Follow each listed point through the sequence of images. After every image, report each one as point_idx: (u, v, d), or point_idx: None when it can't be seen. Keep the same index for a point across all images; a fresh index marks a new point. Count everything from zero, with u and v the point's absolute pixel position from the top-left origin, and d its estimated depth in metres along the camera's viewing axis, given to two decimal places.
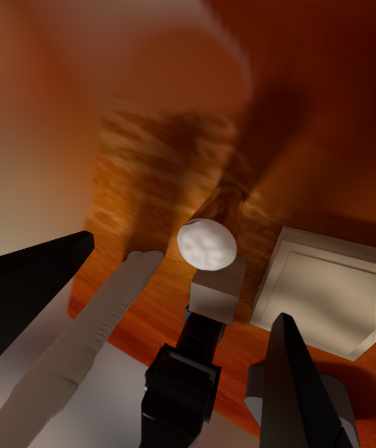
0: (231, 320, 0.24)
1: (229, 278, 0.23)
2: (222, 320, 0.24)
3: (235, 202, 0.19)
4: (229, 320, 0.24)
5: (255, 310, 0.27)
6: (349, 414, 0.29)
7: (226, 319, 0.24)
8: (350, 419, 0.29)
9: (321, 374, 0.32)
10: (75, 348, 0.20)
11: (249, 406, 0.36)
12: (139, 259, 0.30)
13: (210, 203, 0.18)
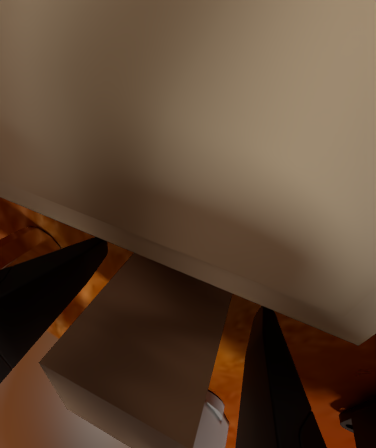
0: (156, 432, 0.06)
1: None
2: None
3: None
4: (162, 436, 0.06)
5: (259, 301, 0.07)
6: None
7: (163, 440, 0.06)
8: None
9: None
10: None
11: None
12: None
13: None
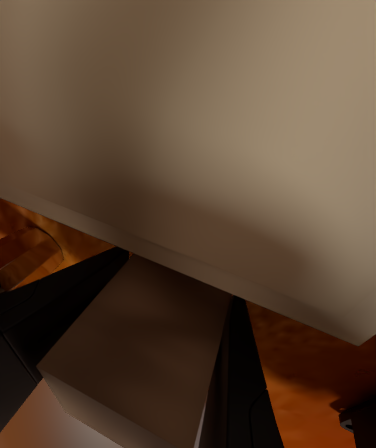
0: (155, 436, 0.06)
1: None
2: None
3: None
4: (161, 441, 0.06)
5: (258, 301, 0.07)
6: None
7: (162, 444, 0.06)
8: None
9: None
10: None
11: None
12: None
13: None
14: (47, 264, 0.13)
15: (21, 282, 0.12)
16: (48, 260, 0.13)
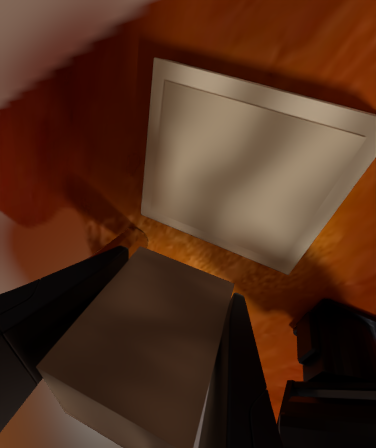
0: (155, 437, 0.06)
1: None
2: None
3: (110, 242, 0.24)
4: (160, 441, 0.06)
5: (254, 259, 0.19)
6: None
7: (161, 444, 0.06)
8: None
9: None
10: None
11: None
12: None
13: None
14: None
15: None
16: (143, 245, 0.25)
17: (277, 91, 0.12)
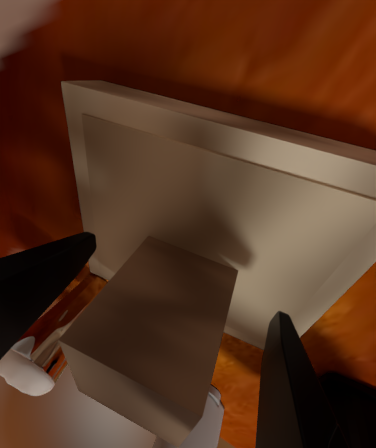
0: (169, 401, 0.06)
1: None
2: (185, 419, 0.07)
3: (62, 298, 0.19)
4: (173, 406, 0.07)
5: (234, 335, 0.14)
6: None
7: (174, 410, 0.07)
8: None
9: None
10: None
11: None
12: None
13: None
14: None
15: None
16: None
17: (243, 131, 0.08)
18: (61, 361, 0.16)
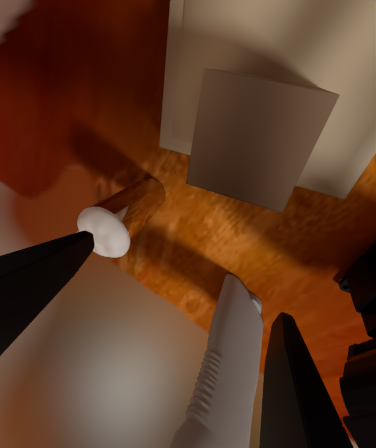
0: (308, 93, 0.08)
1: None
2: (315, 123, 0.08)
3: None
4: (310, 100, 0.08)
5: (300, 185, 0.15)
6: None
7: (308, 110, 0.08)
8: None
9: None
10: None
11: None
12: None
13: None
14: (160, 199, 0.22)
15: (154, 203, 0.21)
16: (161, 196, 0.22)
17: None
18: (135, 226, 0.17)
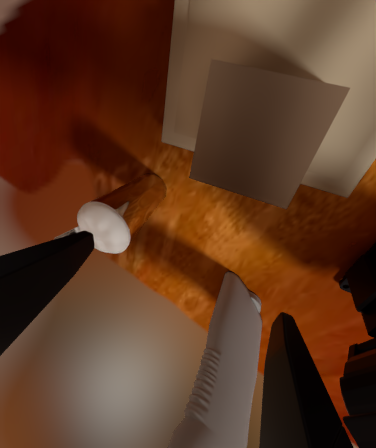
0: (317, 86, 0.08)
1: None
2: (323, 117, 0.08)
3: None
4: (320, 93, 0.08)
5: (303, 182, 0.15)
6: None
7: (317, 103, 0.08)
8: None
9: None
10: None
11: None
12: None
13: None
14: (160, 195, 0.22)
15: (155, 200, 0.20)
16: (162, 192, 0.22)
17: None
18: (135, 222, 0.17)
